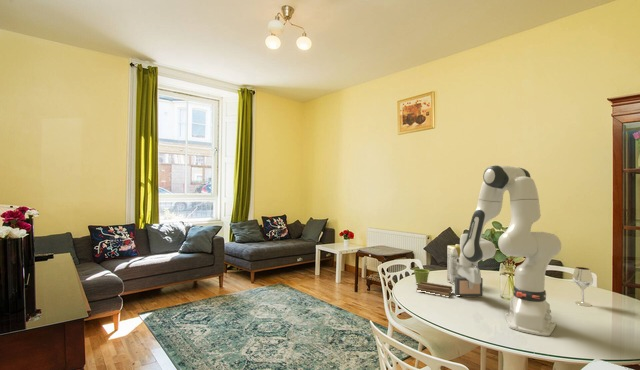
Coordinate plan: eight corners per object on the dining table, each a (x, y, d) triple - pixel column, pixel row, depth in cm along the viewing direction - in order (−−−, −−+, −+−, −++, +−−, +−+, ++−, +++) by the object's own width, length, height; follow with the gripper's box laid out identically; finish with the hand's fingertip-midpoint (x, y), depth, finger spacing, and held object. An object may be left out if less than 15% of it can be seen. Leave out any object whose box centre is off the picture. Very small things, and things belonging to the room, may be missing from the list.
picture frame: (482, 297, 174) (482, 278, 174) (456, 297, 174) (456, 278, 174) (480, 295, 177) (480, 277, 177) (454, 295, 176) (454, 277, 176)
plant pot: (411, 282, 200) (411, 268, 200) (425, 282, 201) (425, 268, 201) (417, 287, 191) (417, 272, 191) (432, 286, 192) (432, 272, 192)
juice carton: (466, 285, 196) (466, 245, 196) (454, 285, 194) (454, 245, 195) (456, 280, 205) (456, 242, 205) (445, 281, 203) (445, 243, 204)
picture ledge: (448, 297, 172) (448, 290, 172) (416, 291, 182) (416, 284, 182) (452, 292, 181) (452, 285, 181) (421, 287, 190) (421, 280, 190)
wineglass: (597, 307, 159) (597, 270, 159) (578, 306, 161) (578, 269, 161) (587, 301, 167) (587, 266, 167) (569, 300, 169) (569, 266, 169)
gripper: (484, 266, 165) (484, 293, 165) (465, 258, 186) (465, 282, 185) (472, 266, 165) (472, 293, 165) (454, 258, 185) (454, 282, 185)
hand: (468, 287), depth 175 cm, fingers closed on picture frame, 3 cm apart
